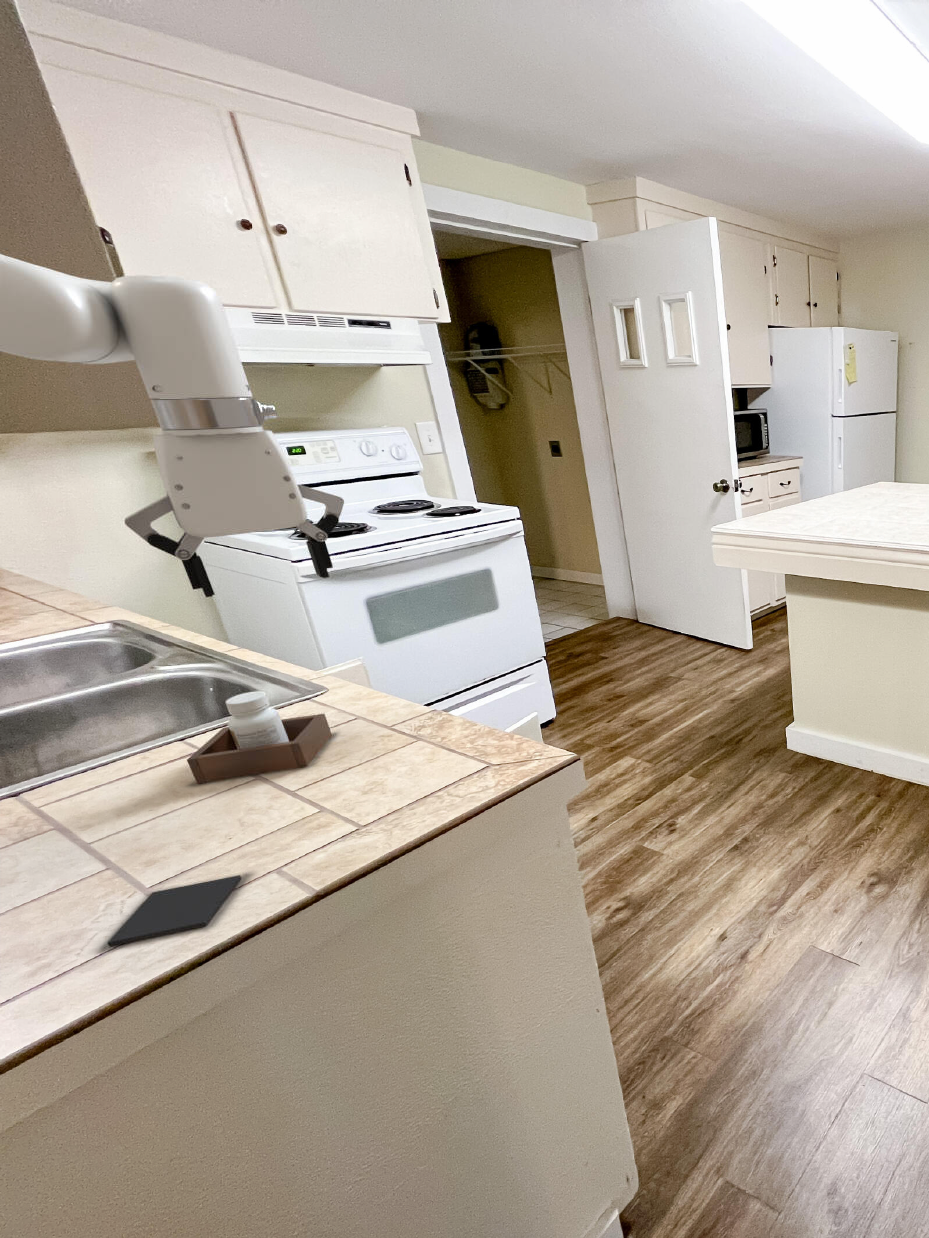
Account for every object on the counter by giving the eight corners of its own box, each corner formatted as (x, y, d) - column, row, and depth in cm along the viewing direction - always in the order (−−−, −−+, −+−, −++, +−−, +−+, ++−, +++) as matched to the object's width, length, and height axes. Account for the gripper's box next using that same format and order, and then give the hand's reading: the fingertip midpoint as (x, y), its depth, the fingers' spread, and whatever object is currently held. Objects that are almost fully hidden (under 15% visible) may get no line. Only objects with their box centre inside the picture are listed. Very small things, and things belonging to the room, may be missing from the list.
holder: (197, 784, 74) (186, 759, 73) (232, 749, 81) (223, 727, 80) (307, 766, 77) (298, 742, 76) (332, 735, 84) (324, 713, 83)
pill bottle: (255, 752, 80) (231, 692, 78) (299, 746, 82) (277, 686, 79) (236, 770, 77) (210, 708, 74) (282, 763, 78) (259, 702, 75)
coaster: (109, 946, 52) (106, 942, 52) (154, 895, 58) (152, 892, 57) (206, 926, 54) (204, 922, 54) (241, 878, 59) (240, 874, 59)
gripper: (310, 414, 76) (355, 564, 82) (84, 421, 65) (156, 595, 71) (324, 415, 71) (371, 574, 78) (82, 423, 60) (160, 610, 66)
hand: (268, 584), depth 74 cm, fingers open, 9 cm apart
